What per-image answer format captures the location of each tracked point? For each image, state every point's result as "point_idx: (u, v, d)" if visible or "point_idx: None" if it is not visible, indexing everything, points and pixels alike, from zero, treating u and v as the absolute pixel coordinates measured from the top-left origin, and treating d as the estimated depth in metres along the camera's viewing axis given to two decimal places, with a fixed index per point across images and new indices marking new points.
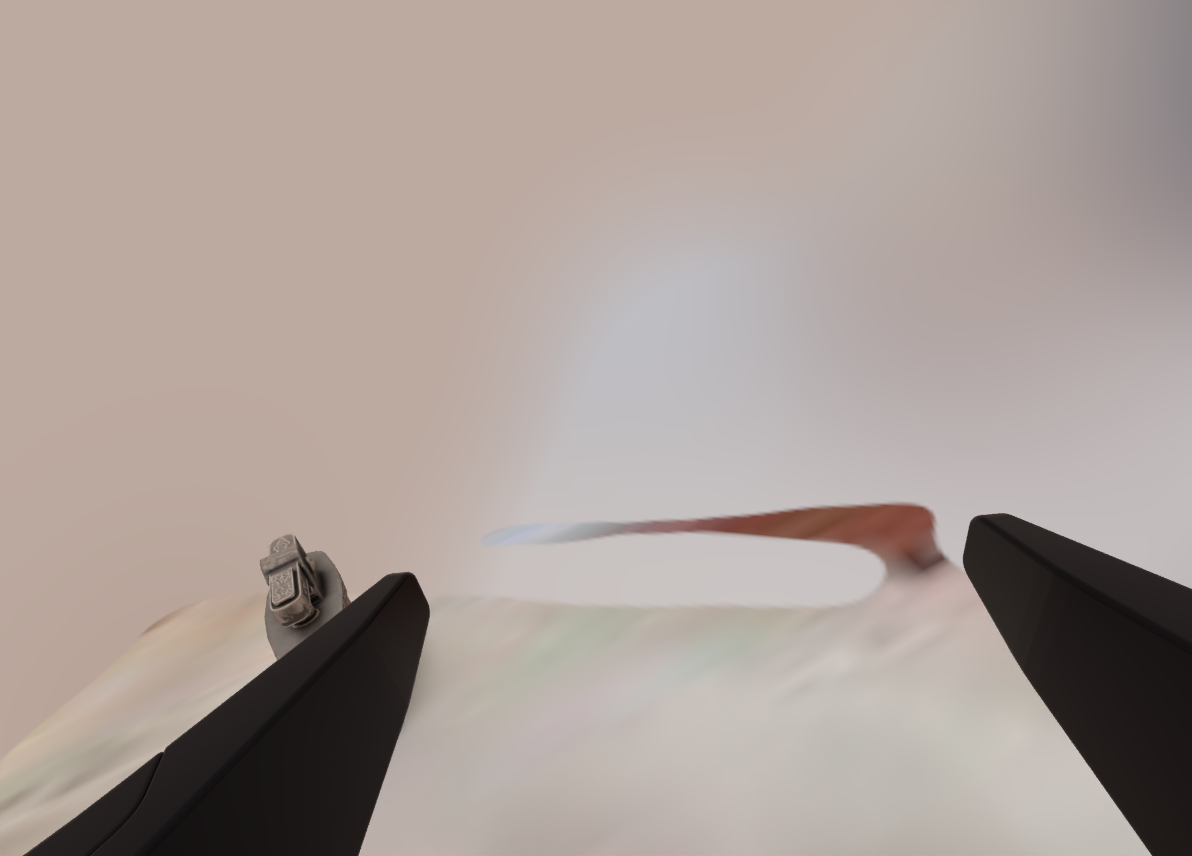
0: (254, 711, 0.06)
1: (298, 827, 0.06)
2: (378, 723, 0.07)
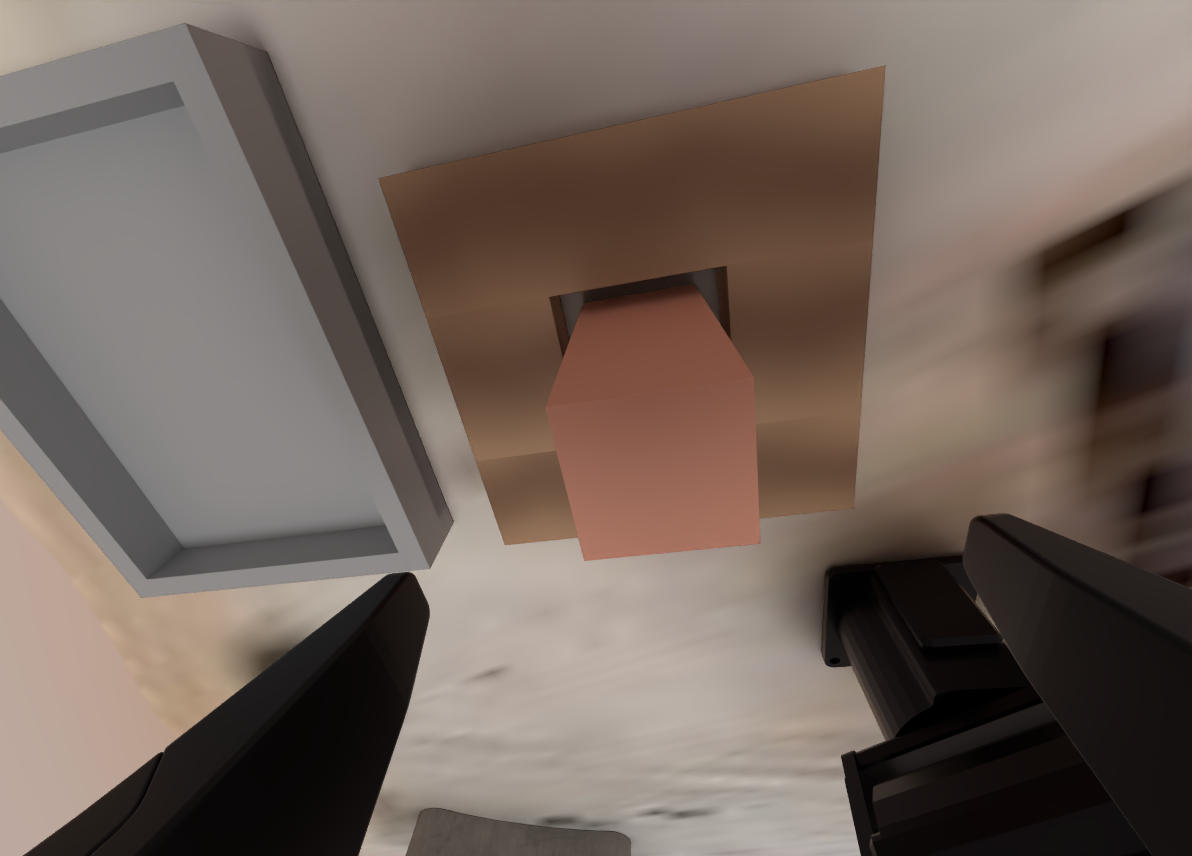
0: (254, 711, 0.06)
1: (298, 827, 0.06)
2: (378, 723, 0.07)
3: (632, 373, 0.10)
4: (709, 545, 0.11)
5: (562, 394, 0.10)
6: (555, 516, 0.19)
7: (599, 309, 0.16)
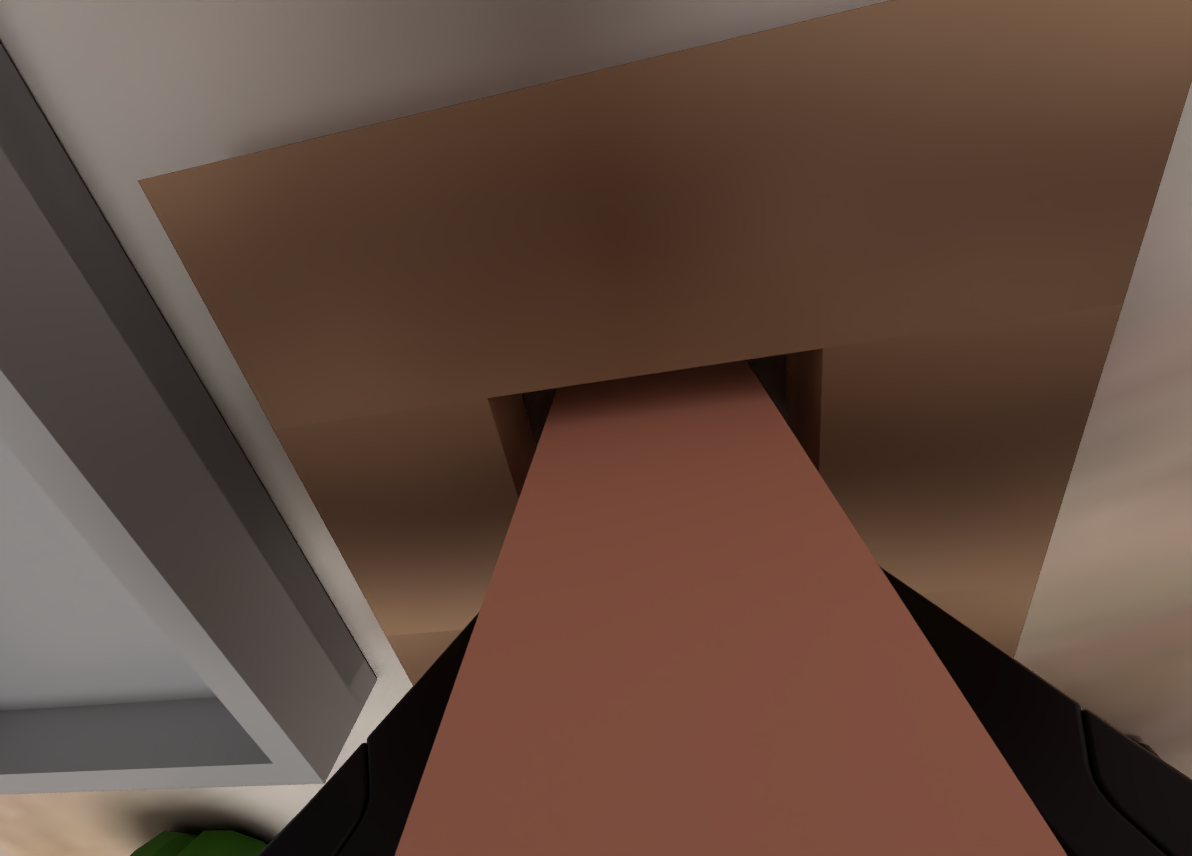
0: None
1: None
2: None
3: (652, 810, 0.03)
4: None
5: None
6: None
7: (581, 413, 0.09)
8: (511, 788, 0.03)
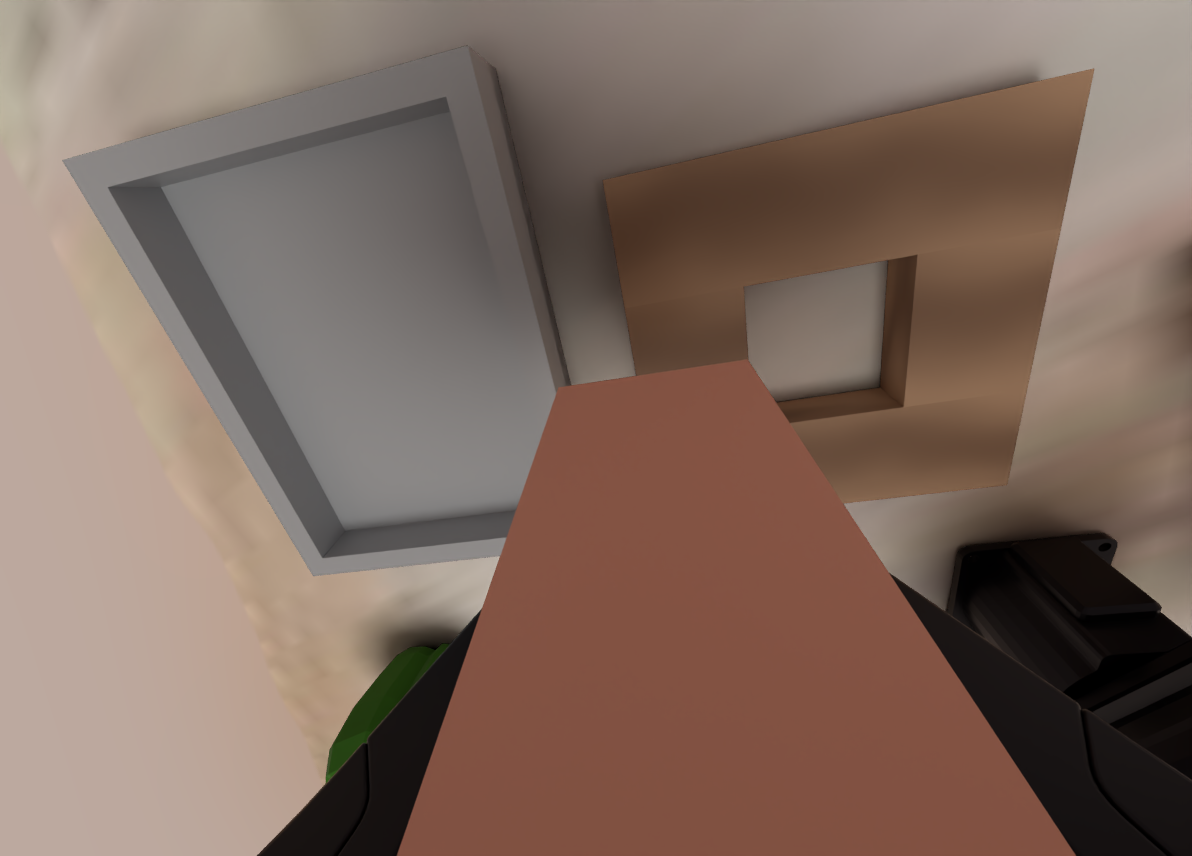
0: (450, 699, 0.05)
1: None
2: None
3: (657, 809, 0.03)
4: None
5: None
6: None
7: (583, 411, 0.09)
8: (514, 787, 0.03)
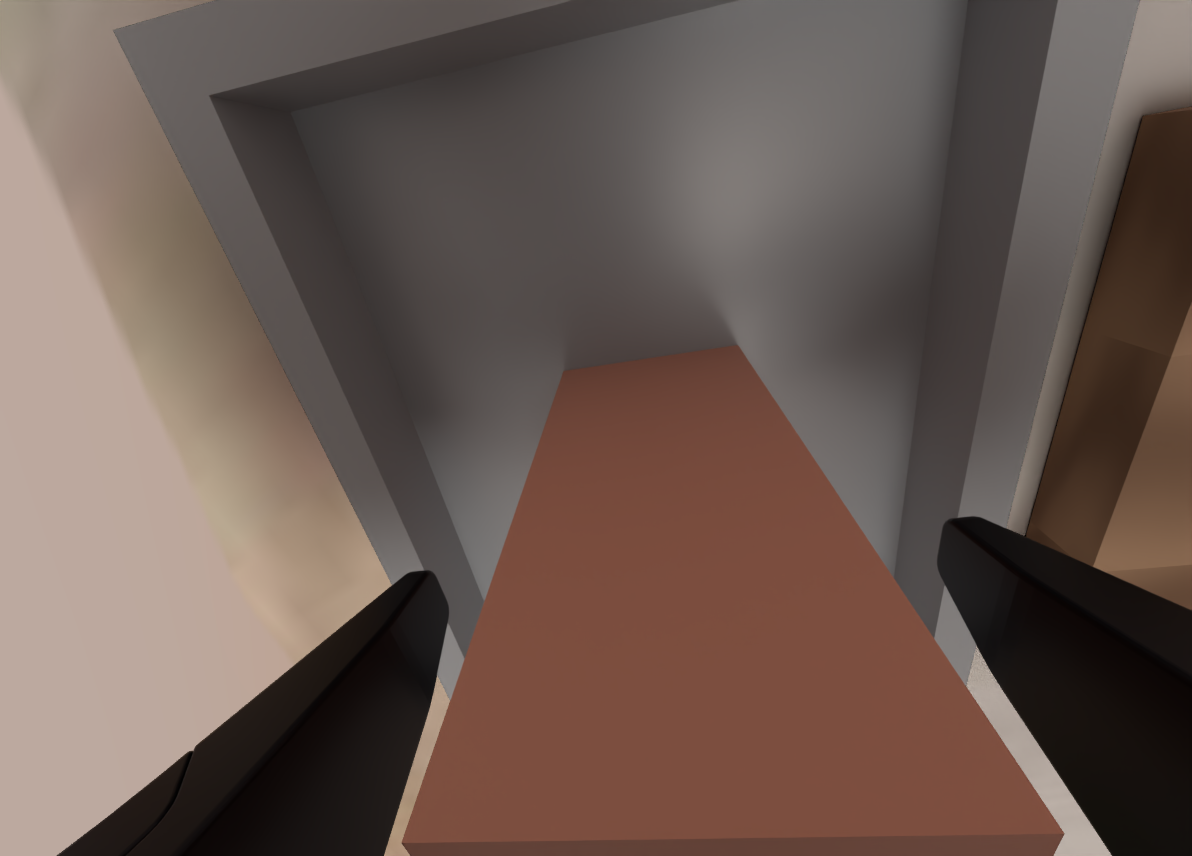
0: (283, 709, 0.06)
1: (327, 826, 0.06)
2: (402, 722, 0.07)
3: (651, 675, 0.04)
4: None
5: (465, 759, 0.04)
6: None
7: (587, 391, 0.10)
8: (538, 665, 0.04)
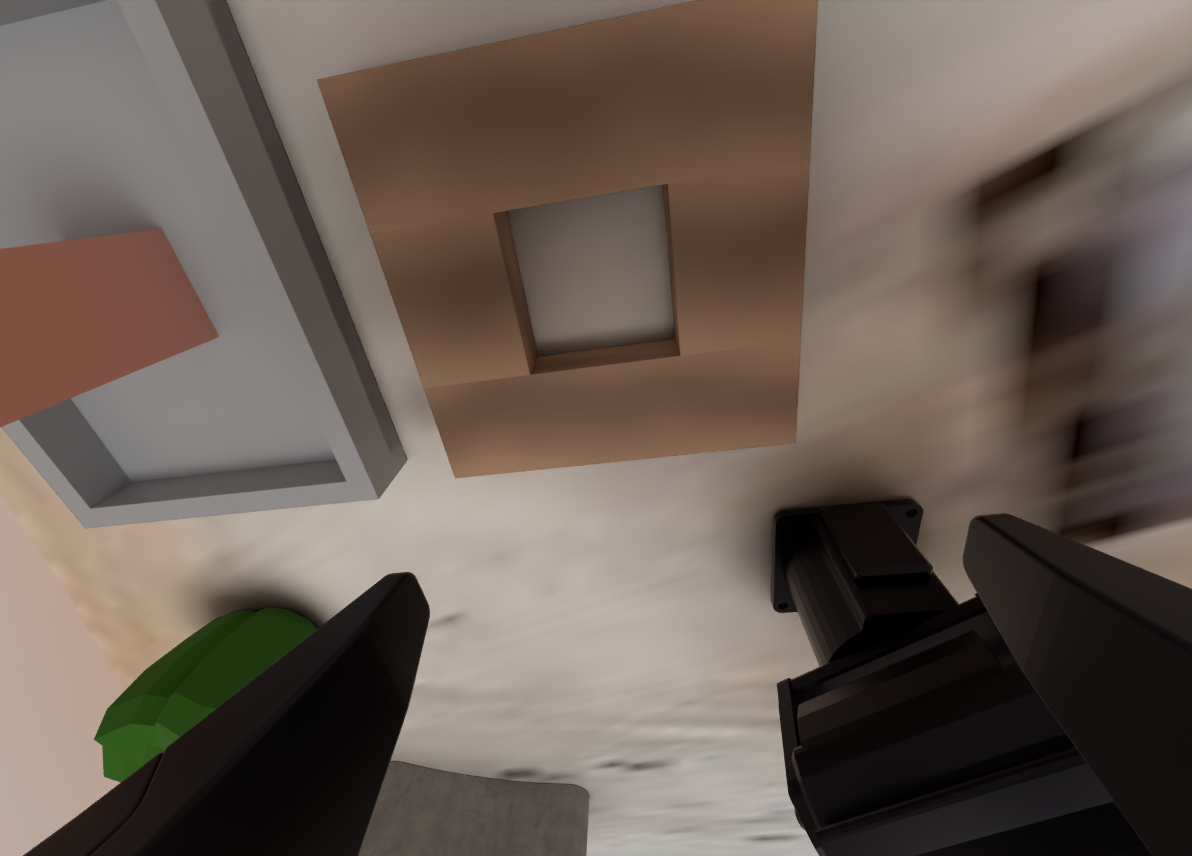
0: (254, 711, 0.06)
1: (298, 827, 0.06)
2: (378, 723, 0.07)
3: None
4: None
5: None
6: (504, 448, 0.20)
7: None
8: None
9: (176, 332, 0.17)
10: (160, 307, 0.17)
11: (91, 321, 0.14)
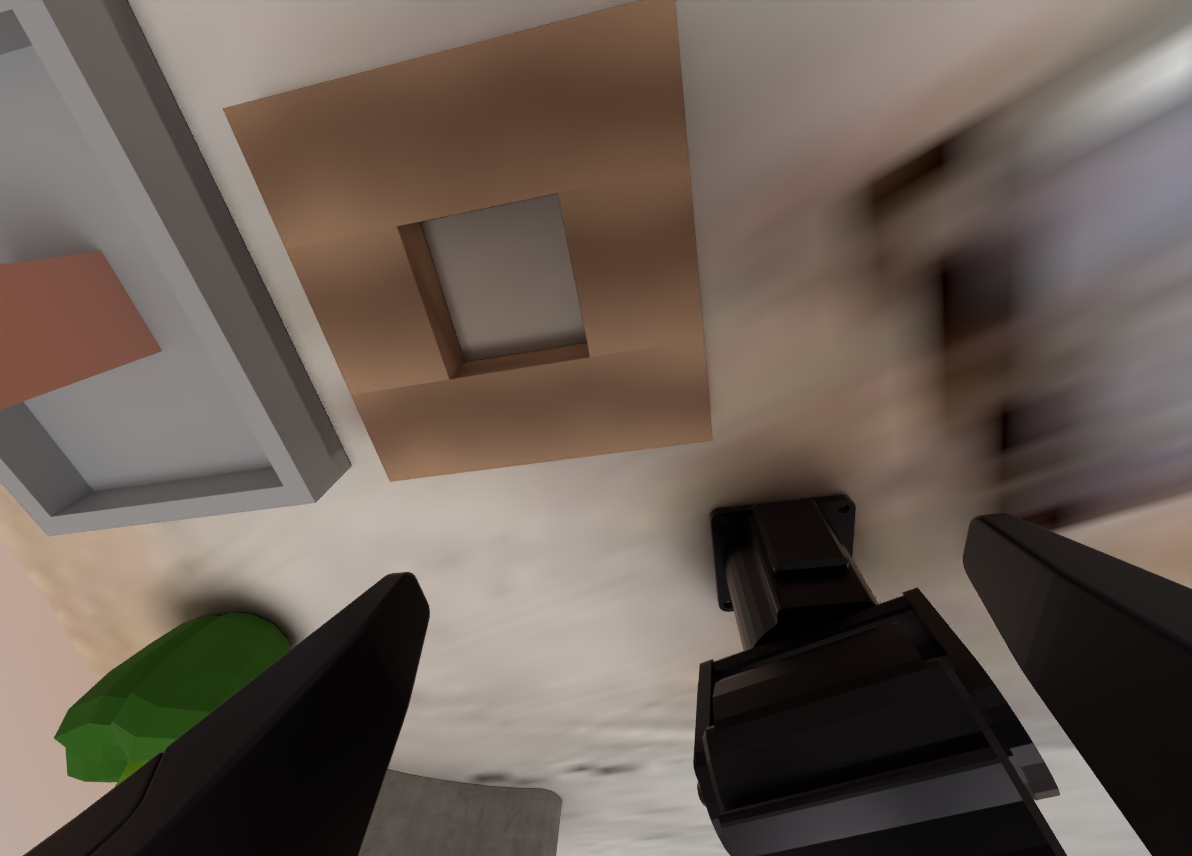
0: (254, 711, 0.06)
1: (298, 827, 0.06)
2: (378, 723, 0.07)
3: None
4: None
5: None
6: (433, 451, 0.20)
7: None
8: None
9: (115, 347, 0.18)
10: (98, 324, 0.18)
11: (24, 338, 0.16)
